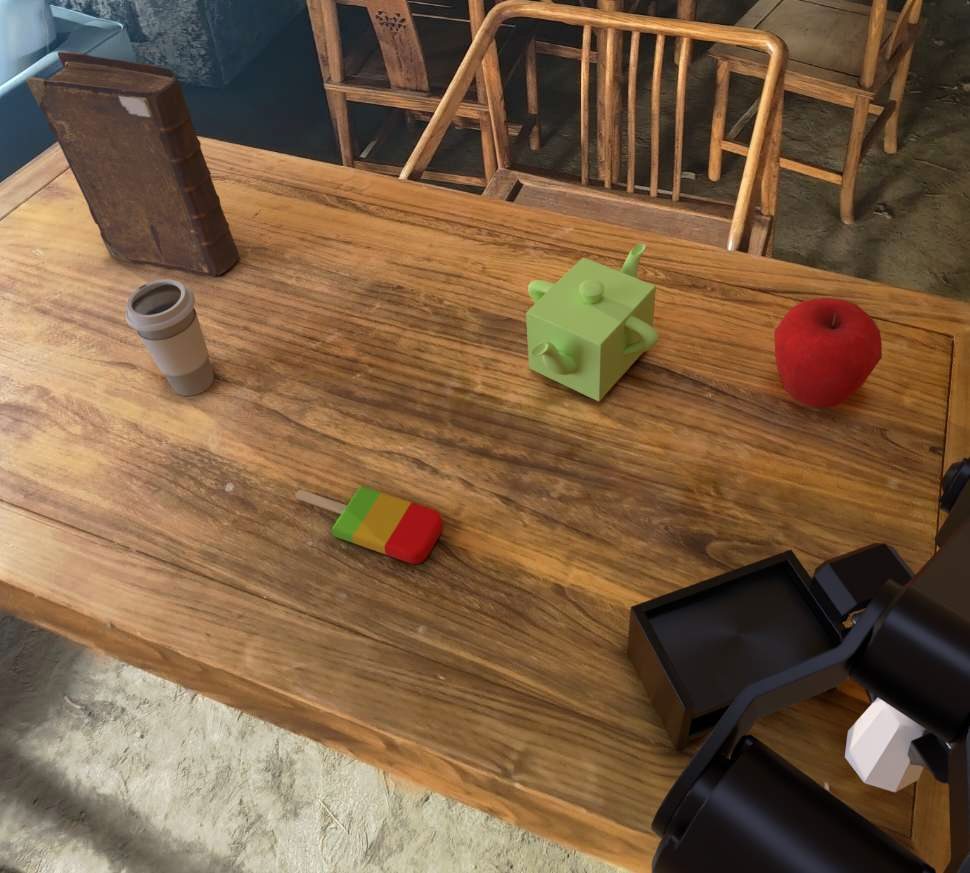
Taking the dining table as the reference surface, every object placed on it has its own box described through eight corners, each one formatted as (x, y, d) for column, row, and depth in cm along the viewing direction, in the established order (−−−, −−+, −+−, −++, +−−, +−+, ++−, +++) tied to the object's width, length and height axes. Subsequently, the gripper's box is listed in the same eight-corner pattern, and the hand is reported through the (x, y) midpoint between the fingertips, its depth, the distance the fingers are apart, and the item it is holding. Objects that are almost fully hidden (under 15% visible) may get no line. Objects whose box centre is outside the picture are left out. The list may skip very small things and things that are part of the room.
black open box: (836, 689, 74) (857, 643, 68) (676, 751, 71) (685, 709, 66) (775, 598, 79) (791, 548, 74) (626, 653, 77) (630, 606, 71)
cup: (203, 350, 106) (168, 266, 96) (236, 377, 102) (203, 294, 93) (149, 383, 103) (108, 301, 93) (181, 413, 99) (142, 330, 90)
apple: (744, 383, 96) (760, 303, 88) (814, 346, 99) (836, 265, 91) (812, 443, 90) (836, 363, 82) (885, 402, 93) (915, 321, 85)
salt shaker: (907, 718, 69) (953, 644, 61) (933, 791, 65) (985, 723, 57) (833, 722, 69) (869, 649, 61) (855, 795, 65) (896, 728, 57)
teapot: (639, 309, 105) (644, 232, 97) (679, 392, 96) (689, 315, 88) (507, 335, 103) (501, 259, 95) (535, 422, 95) (532, 346, 87)
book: (247, 256, 116) (183, 67, 98) (213, 291, 112) (140, 101, 94) (144, 229, 122) (65, 44, 103) (108, 261, 118) (19, 75, 99)
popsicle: (422, 569, 84) (419, 558, 83) (283, 520, 89) (278, 508, 87) (448, 523, 87) (446, 511, 86) (313, 478, 92) (309, 466, 91)
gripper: (1222, 715, 48) (1095, 819, 60) (980, 459, 60) (913, 588, 72) (1042, 792, 46) (947, 884, 58) (828, 512, 58) (785, 636, 70)
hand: (897, 733), depth 64 cm, fingers closed on salt shaker, 4 cm apart
